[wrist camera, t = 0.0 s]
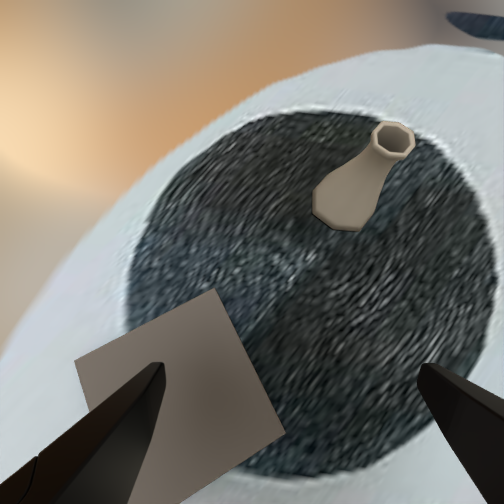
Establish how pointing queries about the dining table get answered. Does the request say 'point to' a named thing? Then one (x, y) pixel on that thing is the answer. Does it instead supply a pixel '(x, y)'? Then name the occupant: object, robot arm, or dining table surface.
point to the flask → (361, 179)
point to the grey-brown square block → (188, 397)
